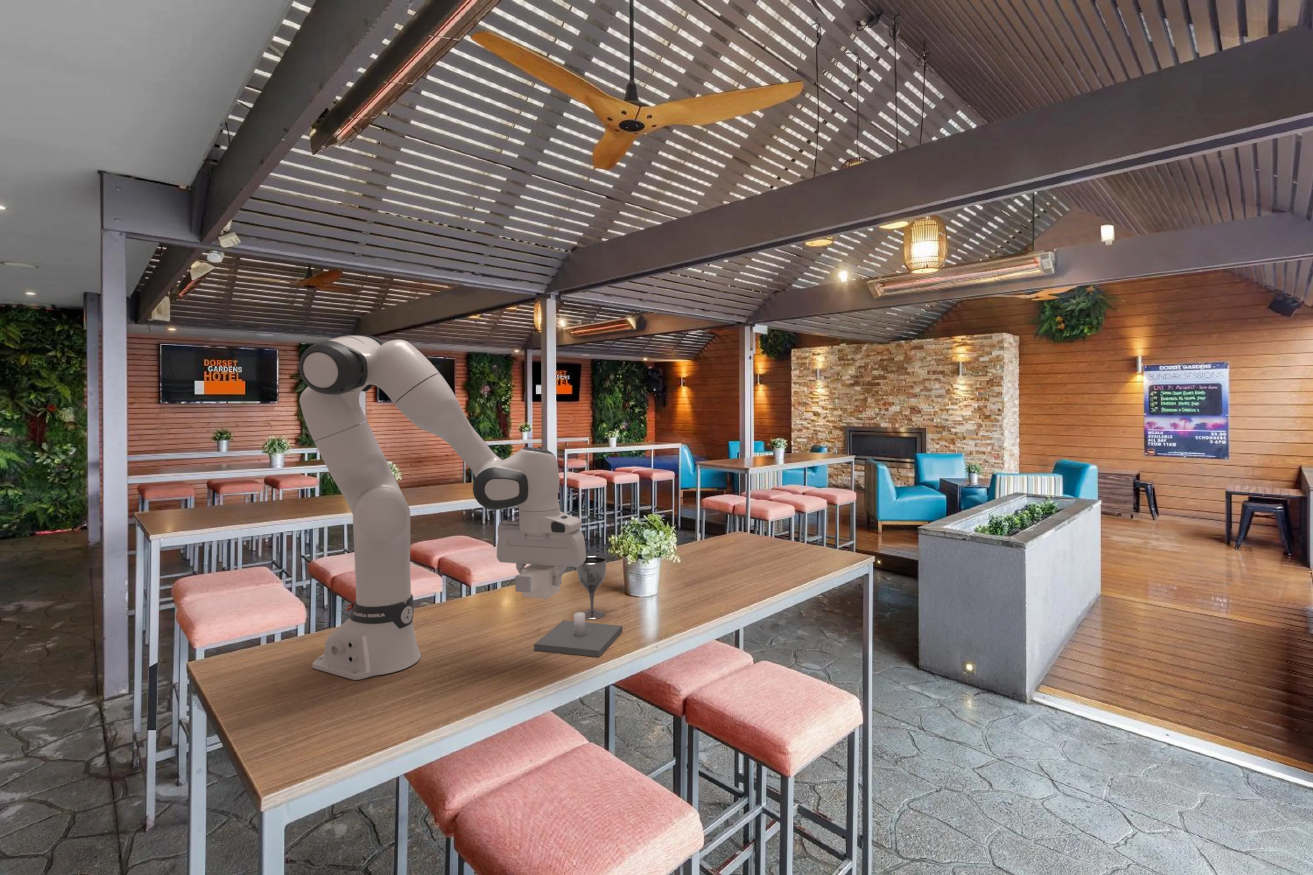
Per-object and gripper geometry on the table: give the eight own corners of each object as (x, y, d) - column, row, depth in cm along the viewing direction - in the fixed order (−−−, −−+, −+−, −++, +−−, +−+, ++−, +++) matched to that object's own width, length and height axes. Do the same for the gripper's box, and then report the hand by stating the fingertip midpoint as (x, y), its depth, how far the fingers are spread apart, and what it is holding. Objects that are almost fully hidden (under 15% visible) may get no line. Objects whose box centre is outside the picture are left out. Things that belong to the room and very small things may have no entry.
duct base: (534, 650, 140) (533, 622, 139) (563, 626, 155) (562, 601, 155) (599, 657, 135) (598, 628, 135) (622, 631, 151) (621, 605, 150)
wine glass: (602, 620, 159) (601, 564, 158) (573, 618, 160) (572, 562, 160) (610, 610, 167) (609, 556, 166) (582, 608, 168) (581, 555, 167)
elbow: (535, 588, 136) (534, 561, 136) (560, 590, 135) (559, 563, 134) (510, 604, 126) (509, 575, 125) (536, 606, 124) (535, 577, 123)
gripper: (489, 522, 132) (491, 584, 132) (576, 526, 126) (578, 591, 127) (505, 517, 138) (506, 576, 138) (588, 520, 132) (589, 582, 133)
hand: (541, 583), depth 133 cm, fingers closed on elbow, 6 cm apart
